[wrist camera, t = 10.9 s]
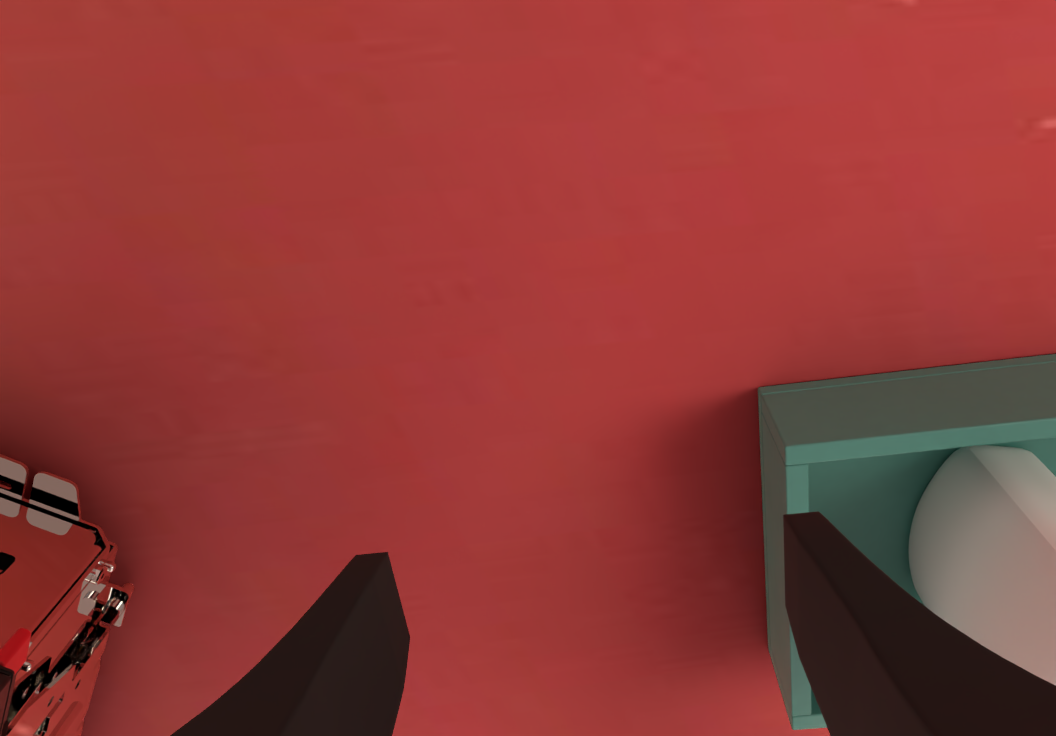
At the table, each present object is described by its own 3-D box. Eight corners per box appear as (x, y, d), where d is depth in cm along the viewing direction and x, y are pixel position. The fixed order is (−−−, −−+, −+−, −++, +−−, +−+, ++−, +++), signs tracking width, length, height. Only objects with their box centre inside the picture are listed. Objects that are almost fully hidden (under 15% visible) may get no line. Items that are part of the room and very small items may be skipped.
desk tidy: (1141, 617, 28) (1214, 700, 25) (767, 648, 29) (792, 731, 26) (1197, 336, 24) (1294, 392, 21) (757, 386, 25) (784, 446, 22)
